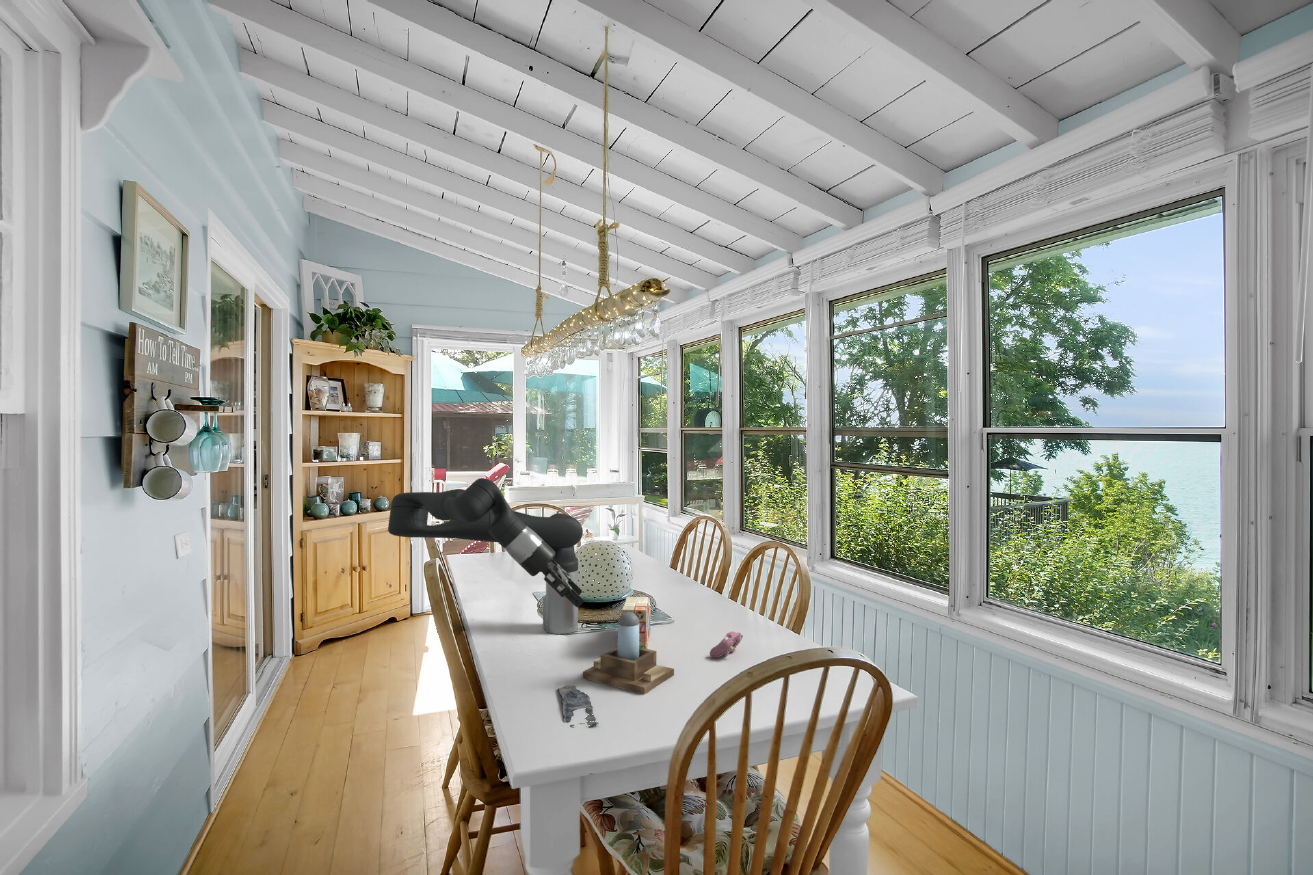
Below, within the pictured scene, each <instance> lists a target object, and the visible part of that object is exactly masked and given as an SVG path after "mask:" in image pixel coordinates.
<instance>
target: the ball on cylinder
mask: <svg viewBox="0 0 1313 875" xmlns="http://www.w3.org/2000/svg"><path fill="white" fill-rule="evenodd" d="M617 647H618V657H619V658H624V659H628V660H632V661H633V660H635V659H637V658H639V619H638V617H637V616H636V615H635V614H634V613H631V612H626V613H624V614H621V615H620V616H619V617H618V620H617Z"/></svg>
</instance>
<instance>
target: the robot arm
mask: <svg viewBox="0 0 1313 875" xmlns="http://www.w3.org/2000/svg"><path fill="white" fill-rule="evenodd" d="M429 514H430V515H431V516H432V517H433V518H434V519H437V520H440V521H444V522H442V523H439V524H433V525H429V524H428V519H429ZM387 526H388V527H387V531H388V533H389V534H391V535H392V536H396V537H402V538H426V539H427V538H428V539H429V538H430V539H436V538H437V539H455V540H457V539H458V540H467V541H476V542H487V543H498V544H499V545H500V546H501V547H502V548H503V549H504V550H505V551H506V553H508V554H509V556H510V557H511V558H512V559H513V560H514V561H515V562H516V563H517V564H518V565H519V566H520V567H521V568H522V569H523V570H524V571H526V572H527V574H528V575H530V576H531V577H535V576H537V575H538V574H539V573H542V575H544V578H543V580H544V582H545V595H543V597H542V630H545V631H546V632H547V633H550V634H555V635H564V634H571V633H575V632H577V630H578V629H579V607H580V606H581V605H582V604H584V598H582V597H581V594H582V593H583V590H582V588H581V587H579V560H578V558H577V555H576V552H575V546H576V545H577V544H578V543H579V542H580V541H581V540H582V539H583V538H582V537H583V534H584V530H583V529H584V528H583V525H582V524H581V523H580V522H579V520H578V519H577V518H575V517H574V516H572V515H569V514H565V513H561V512H559V513H557V512H556V513H554V514H552V515H550V516H537V515H531V514H529V513H524V512H520V511H516V510H513V509H512V508H511V506H510V505H509V503H508V502H507V500H506V498H505V497H504V495H503V493H502V491H501V489H500V488H499V486H498V485H497V484H496V483H495V482H493V481H492V480H490V479H489V478H484V477H481V478H478V479H475V481H473V483H471V484H470V485H469V486H468V487H467V488H466V489H464V488H463V489H462V488H454V489H451V490H450V489H449V490H444V491H440V492H438V491H437V492H436V491H435V492H432V491H413V492H411V491H410V492H409V491H407V492H401V493H398V494H396V495H394V496H393V498H392V499H391V504H390V511H389V520H388V525H387Z"/></svg>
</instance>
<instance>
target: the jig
mask: <svg viewBox="0 0 1313 875" xmlns="http://www.w3.org/2000/svg"><path fill="white" fill-rule="evenodd" d="M674 676H675V668H674V667H668V666H664V665H659V664H657V650H652V649H650V648H649V649H648V648H647V649H644V648H640V647H639V658H637V659H635V660H633V661H632V660H628V659H624V658H619V657H618V646H617V647H615V648H613V649H611V650H609V651H606V652H605V653H602V654H601V655H600V657H599V658H597V659H595V660H593V665H592V667H590V668H587V669H585V670H584V671H582V679H584V680H588V681H592V682H595V683H598V684H599V683H600V684H603V685H608V686H611V687H614V686H615V688H619V689H622V688H623V690H626V691H630V692H633V693H636V694H637V693H638V694H641V695H646V694H648V692H651V691H652V690H653V689H655V688H657V687H658V686H660V685H661V684H663V683H665V682H666V681H667V680H668V679H671V678H672V677H674ZM656 686H657V687H656Z"/></svg>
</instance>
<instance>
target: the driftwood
mask: <svg viewBox="0 0 1313 875" xmlns="http://www.w3.org/2000/svg"><path fill="white" fill-rule="evenodd" d="M557 690H559V693H560V695H561V697H562V698H561V699H560V701H561V703H562V713H563V714H562V715H563V716H564V718H563V722H562V723H567V724H569V723H570V722H571V721H572V717H574V716H575V713H574V711H578V710H581V709H585V708H586V709H585V710H586V711H585V710H584V711H585V713H587V715H586V716H587V717H586V716H585V717H586V718H584V720H585V719H586V720H585V721H586V722H583V723H582V722H580V723H578V725H586V726H588V728H591V727H592V726H593V725H598V724H599V722H597V721H596V720H597V719H596V717H595V714H594V711H593V709H594V708H593V705H592V701H591V700H590V699H591V698H590V696H589V695H588V693H586V692H584V691H581V690H580V689H577V686H576V685H574V684H568V685H567V684H566V685H563V686H562V687H559V688H557ZM585 693H586V694H585ZM592 714H593V715H592ZM587 721H588V722H587ZM590 721H591V722H590ZM593 721H594V722H593ZM595 721H596V722H595ZM585 723H587V724H585ZM589 725H590V726H589ZM569 727H570V728H572V729H574V728H576V726H575V724H570V725H569Z"/></svg>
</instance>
